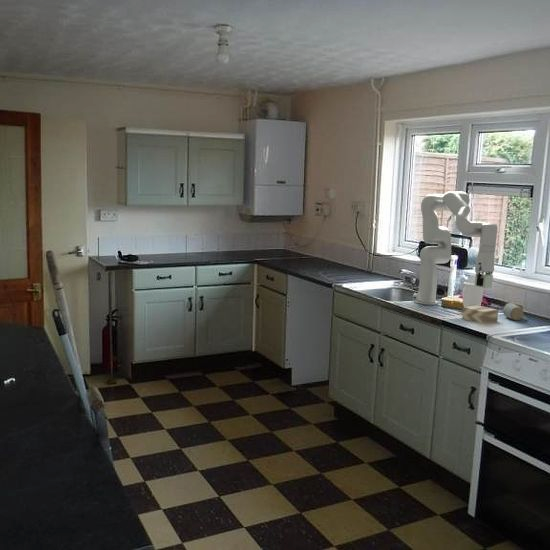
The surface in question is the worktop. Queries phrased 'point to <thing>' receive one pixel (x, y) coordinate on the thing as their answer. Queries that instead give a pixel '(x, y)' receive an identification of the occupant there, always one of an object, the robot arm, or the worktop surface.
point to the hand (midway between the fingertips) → (483, 284)
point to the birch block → (480, 314)
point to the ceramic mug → (513, 312)
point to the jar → (472, 294)
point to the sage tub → (485, 281)
